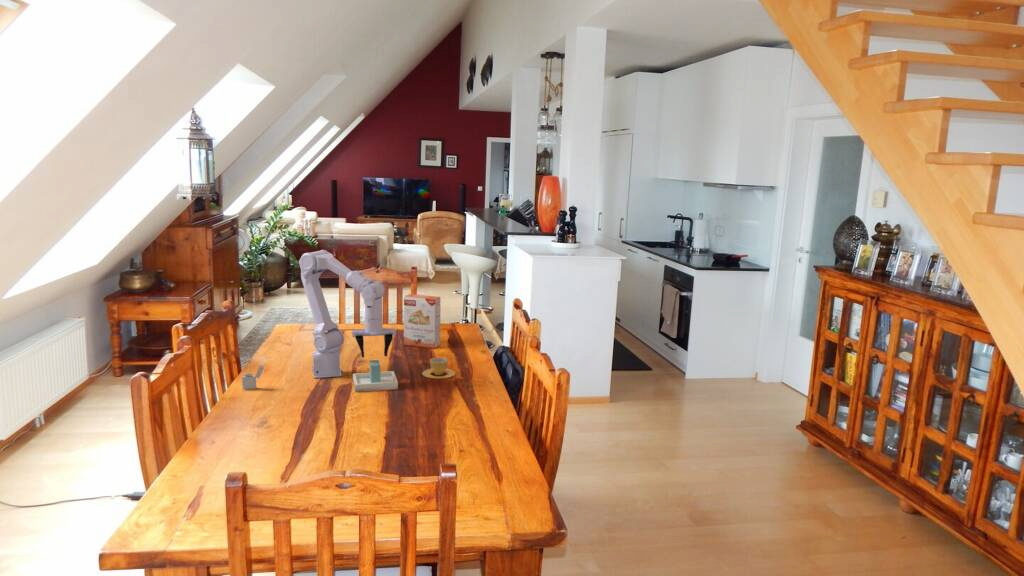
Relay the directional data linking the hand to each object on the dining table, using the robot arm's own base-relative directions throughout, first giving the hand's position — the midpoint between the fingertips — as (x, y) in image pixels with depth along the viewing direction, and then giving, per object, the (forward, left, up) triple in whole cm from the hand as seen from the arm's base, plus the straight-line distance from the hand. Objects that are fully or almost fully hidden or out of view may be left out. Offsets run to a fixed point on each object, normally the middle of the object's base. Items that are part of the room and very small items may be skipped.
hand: (374, 356), depth 239 cm
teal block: (0, -3, -8) cm, 9 cm away
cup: (+23, +5, -10) cm, 26 cm away
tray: (0, -3, -9) cm, 10 cm away
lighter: (-39, +2, -10) cm, 41 cm away
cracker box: (+23, +42, -10) cm, 49 cm away
